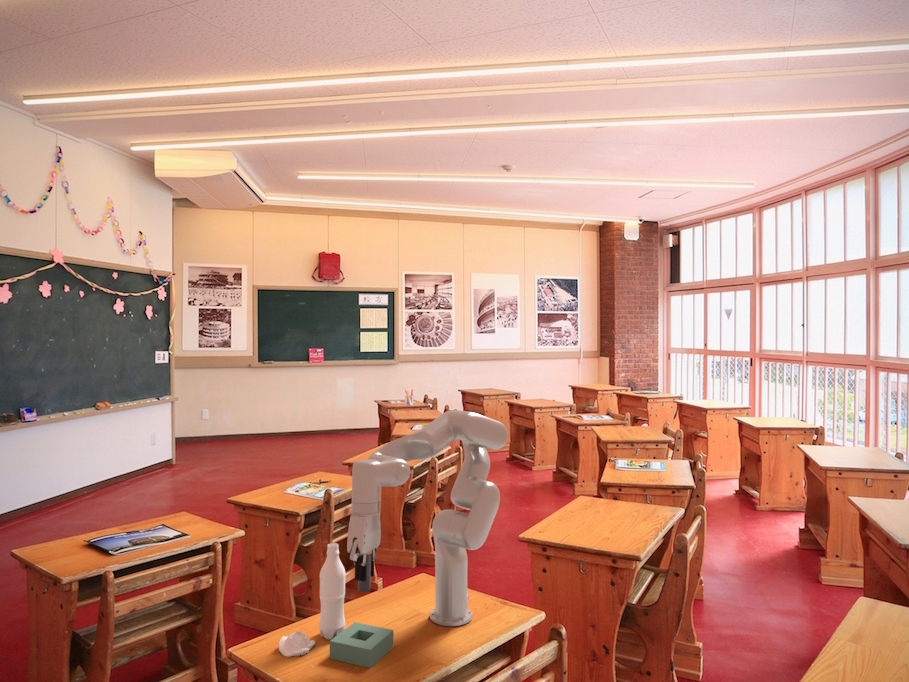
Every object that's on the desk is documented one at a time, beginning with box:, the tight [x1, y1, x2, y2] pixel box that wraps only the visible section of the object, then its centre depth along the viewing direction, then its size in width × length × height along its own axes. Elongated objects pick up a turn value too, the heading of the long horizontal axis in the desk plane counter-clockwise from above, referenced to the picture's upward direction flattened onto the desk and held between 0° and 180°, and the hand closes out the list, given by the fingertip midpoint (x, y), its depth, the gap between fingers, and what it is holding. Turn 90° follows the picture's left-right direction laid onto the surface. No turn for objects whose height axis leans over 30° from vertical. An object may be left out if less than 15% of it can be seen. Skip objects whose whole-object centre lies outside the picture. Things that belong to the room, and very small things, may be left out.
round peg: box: [357, 550, 372, 593], centre depth 160 cm, size 3×3×11 cm
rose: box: [278, 631, 316, 658], centre depth 162 cm, size 10×4×10 cm
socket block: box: [329, 621, 394, 669], centre depth 160 cm, size 12×12×4 cm
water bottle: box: [318, 542, 347, 641], centre depth 170 cm, size 7×7×25 cm
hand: (364, 577), depth 160 cm, fingers closed on round peg, 3 cm apart
